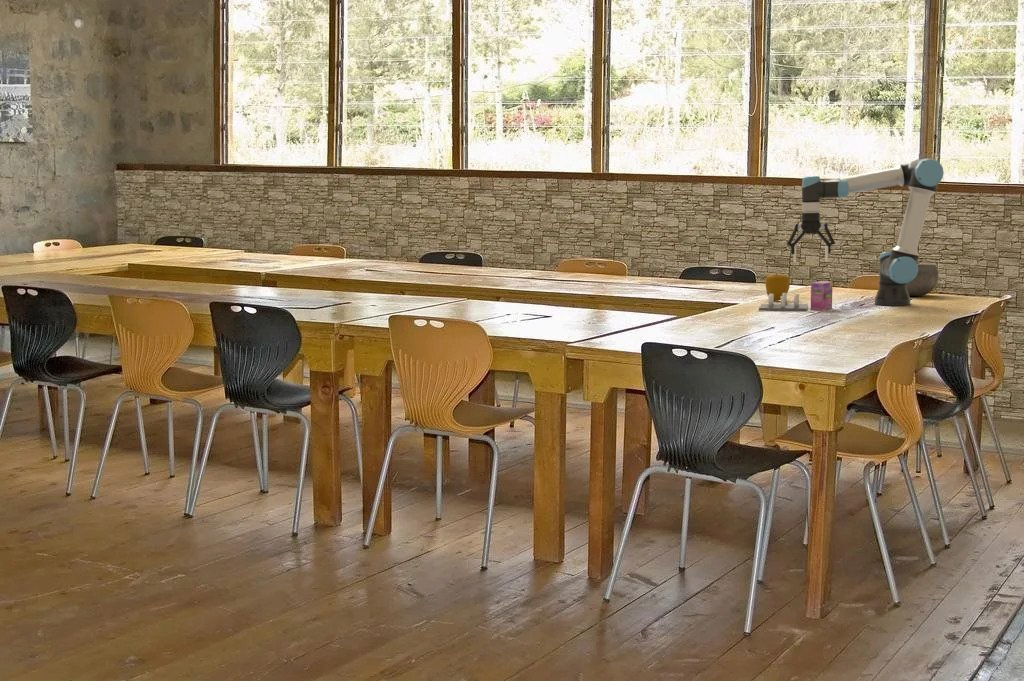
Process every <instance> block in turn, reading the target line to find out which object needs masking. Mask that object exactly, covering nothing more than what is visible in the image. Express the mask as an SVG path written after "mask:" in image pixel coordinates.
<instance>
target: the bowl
mask: <svg viewBox="0 0 1024 681" xmlns="http://www.w3.org/2000/svg"><path fill="white" fill-rule="evenodd" d="M917 265H918V273H917V275H916V277H915V278H914V279H913V280H912V281H910V282H908V283H907V290H908V293H909V297H910V296H911V297H913V296H914V297H915V296H916V297H920V296H921V297H922V296H926V295H928V294H930V293H931V292H933V290H934V289H935V287H936V286H937V284H938V280H939V271H938V267H937V266H936V265H935V264H921V263H920V264H918V263H917Z"/></svg>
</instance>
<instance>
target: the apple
mask: <svg viewBox="0 0 1024 681" xmlns="http://www.w3.org/2000/svg"><path fill="white" fill-rule="evenodd" d="M764 282H765V289H766V290H765V291H766V294H767V297H768V296H769V295H770V294H774V300H781V296H783V293H787V294H788V293H789V290H790V285H791V284H790V279H789V276H788V275H787V274H778V273H777V272H776V274H768V275H767V276H766V277H765V281H764Z"/></svg>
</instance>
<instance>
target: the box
mask: <svg viewBox="0 0 1024 681" xmlns="http://www.w3.org/2000/svg"><path fill="white" fill-rule="evenodd" d="M833 288H834V287H833V281H830V280H829V281H828V280H819V281H815V282H811V283H810V311H820V312H821V311H822V312H823V311H826V310H830V309H832V308H833Z"/></svg>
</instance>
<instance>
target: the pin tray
mask: <svg viewBox="0 0 1024 681" xmlns="http://www.w3.org/2000/svg"><path fill="white" fill-rule="evenodd" d="M787 296H788V293H783V296H781V301H780V303H775V301H774V294H770V295H769V296H768V295H767V297H768V303H762V304H760V306H759V307H758V311H759V310H770V311H769V312H807V311H808V309H809V304H808V303H807V304H806V303H803V304H800V293H795V294H794V295H793V303H787V302H788V300H787V299H788V297H787Z"/></svg>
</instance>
